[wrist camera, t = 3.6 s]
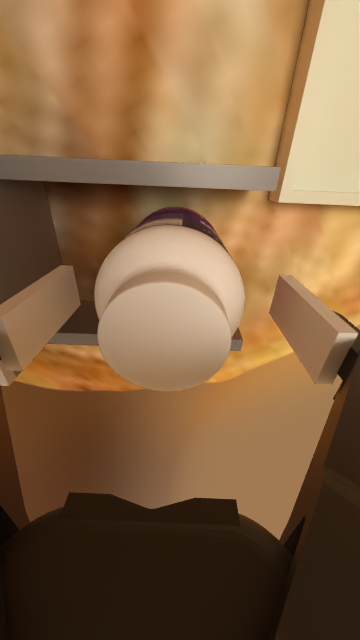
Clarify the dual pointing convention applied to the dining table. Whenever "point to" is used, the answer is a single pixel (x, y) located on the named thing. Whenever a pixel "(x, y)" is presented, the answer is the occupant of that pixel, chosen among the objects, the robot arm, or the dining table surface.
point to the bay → (38, 231)
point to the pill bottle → (168, 302)
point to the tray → (323, 111)
